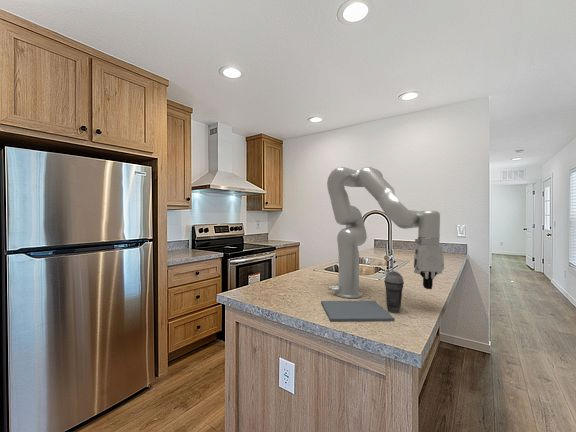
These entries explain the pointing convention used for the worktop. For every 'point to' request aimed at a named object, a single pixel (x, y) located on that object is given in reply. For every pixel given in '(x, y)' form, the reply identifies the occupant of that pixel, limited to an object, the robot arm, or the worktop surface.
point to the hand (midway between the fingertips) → (427, 288)
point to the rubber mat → (355, 311)
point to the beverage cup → (393, 290)
